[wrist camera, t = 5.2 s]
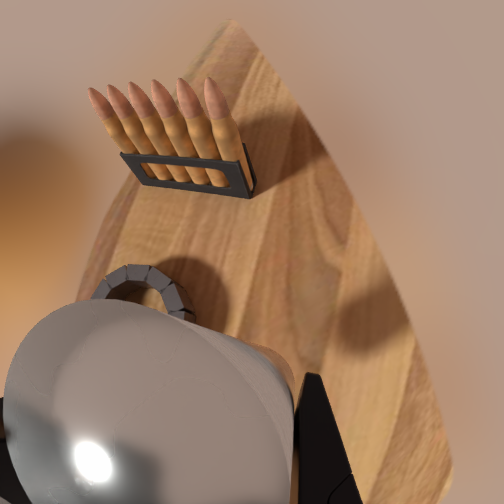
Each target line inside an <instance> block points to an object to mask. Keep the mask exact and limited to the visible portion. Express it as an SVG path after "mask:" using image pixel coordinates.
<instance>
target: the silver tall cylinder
mask: <svg viewBox="0 0 504 504" xmlns="http://www.w3.org/2000/svg"><path fill="white" fill-rule="evenodd" d="M294 407H295V380H294V376H293V372H292V370H291V368H290V366H289V365H288V363H287V362H286V361H285V359H284V358H283V357H282V356H281V355H279V354H278V353H277V352H275V351H274V350H272V349H270V348H267V347H265V346H261V345H258V344H255V343H251V342H248V341H245V340H242V339H238V338H235V337H232V336H229V335H226V334H223V333H220V332H217V331H214V330H211V329H208V328H205V327H202V326H199V325H196V324H193V323H190V322H188V321H185V320H182V319H179V318H177V317H174V316H171V315H168V314H166V313H163V312H160V311H158V310H155V309H152V308H149V307H146V306H143V305H140V304H137V303H133V302H127V301H122V300H116V299H92V300H85V301H79V302H76V303H72V304H69V305H66V306H64V307H62V308H60V309H58V310H56V311H54V312H52V313H50V314H49V315H48V316H46V317H45V318H43V319H42V320H41V321H40V322H39V323H37V324H36V325H35V326H34V327H33V329H31V331H30V332H29V333H28V334H27V335H26V337H25V338H24V340H23V341H22V342H21V344H20V346H19V348H18V349H17V351H16V353H15V355H14V357H13V360H12V362H11V365H10V368H9V371H8V375H7V379H6V384H5V389H4V398H3V421H4V430H5V437H6V442H7V446H8V450H9V454H10V457H11V460H12V463H13V466H14V469H15V471H16V474H17V476H18V478H19V481H20V483H21V485H22V486H23V488H24V490H25V492H26V494H27V496H28V497H29V499H30V501H31V502H32V504H289V499H290V485H291V470H292V452H293V432H294Z"/></svg>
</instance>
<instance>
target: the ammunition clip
mask: <svg viewBox="0 0 504 504" xmlns="http://www.w3.org/2000/svg"><path fill="white" fill-rule="evenodd" d="M151 91H152V96H153V100H154V103H155V106H156V108H157V110H158V112H159V113H158V112H157V110H156V109H155V107H154V106H153V104H152V102H151V101H150V99H149V98H148V96H147V95H146V94H145V93H144V92H143V91H142V89H141V88H139V87H138V86H137V85H136V84H134V83H132V82H129V83H128V92H129V96H130V99H131V102H132V105H133V107H134V108H133V107H132V106H131V104H130V102H129V101H128V100H127V98H126V97H125V96H124V95H123V94H122V93H121V92H120V91H119V90H118V89H117V88H115V87H114V86H112V85H107V94H108V97H109V100H110V103H111V104H110V103H109V102H108V101H107V99H106V98H105V97H104V96H103V95H102V94H101V93H99V92H98V91H97V90H95V89H93V88H89V89H88V94H89V98H90V101H91V103H92V106H93V107H94V109H95V111H96V113H97V114H98V116H99V117H100V119H101V121H102V122H103V124H104V125H105V127H106V130H107V132H108V134H109V135H110V136H111V138H112V139H113V140H114V142H115V143H116V144H117V146H118V147H119V148H120V149H121V151H122V152H121V153H120V156H121V157H122V158H123V160H124V161H125V162H126V164H127V165H128V166H129V168H130V169H131V170H132V172H133V173H134V174H135V175H136V177H137V178H138V179H139V181H140V182H141V183H142V185H147V186H156V187H164V188H173V189H181V190H188V191H196V192H204V193H211V194H218V195H225V196H232V197H239V198H245V199H251V198H252V196H253V193H254V189H255V186H256V182H257V179H256V176H255V173H254V170H253V167H252V164H251V161H250V158H249V155H248V152H247V149H246V146H245V143H242V142H241V138H240V135H239V131H238V128H237V125H236V123H235V121H234V119H233V118H232V116H231V113H230V110H229V108H228V105H227V102H226V100H225V97H224V95H223V93H222V91H221V89H220V88H219V86H218V85H217V84H216V82H215V81H214V80H212V79H211V78H210V77H207V78H206V80H205V86H204V93H205V101H206V105H207V109H208V112H209V116H210V119H211V122H210V120H209V119H208V117H207V116H206V114H205V112H204V110H203V108H202V107H201V104H200V102H199V100H198V98H197V96H196V94H195V92H194V91H193V89H192V88H191V87H190V86H189V84H188V83H187V82H186V81H184V80H183V79H182V78H178V80H177V96H178V100H179V104H180V107H181V110H182V112H183V114H184V117H183V116H182V114H181V112H180V111H179V109H178V107H177V106H176V104H175V102H174V100H173V98H172V97H171V95H170V94H169V92H168V91H167V90H166V89H165V87H164V86H162V84H160V83H159V82H158V81H156V80H152V82H151ZM111 105H112V106H111ZM159 114H160V115H159ZM211 123H212V124H211Z"/></svg>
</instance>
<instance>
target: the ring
mask: <svg viewBox="0 0 504 504" xmlns="http://www.w3.org/2000/svg"><path fill="white" fill-rule="evenodd" d="M105 277H106V280H105V279H102V281H101V282H100V284H99V286H98V287H97V289H96V290H95V292H94V294H93V295H92V297H91V299H116V300H122V301H124V300H125V298H126V297H127V296H128V295H129V294H131V293H133V292H135V291H137V290H139V289H140V288H155V289H156V290H157V291H159V292H160V294H161V296H162V299H163V301H164V304H165V306H166V309H167V311H168V315H171V316H174V317H177V318H179V319H182V320H185V321H188V322H190V323H193V324H195V322H196V316H194V315H192V314H194V313H195V311H194V308H193V306H192V304H191V302H190V299H189V297H188V295H187V292H186V290H184V289H183V287H182V286H180V285H179V284H177V283H176V282H175V281H173V280H172V279H170V278H169V277H168V276H166V275H165V274H163V273H162V272H160V271H159V270H158V269H156V268H155V267H153V266H150V265H133V264H128V266H125V265H124V266H122V267H120V268H119V269H117V270H115V271H114V272H112V273H110V274H108V275H107V276H105Z"/></svg>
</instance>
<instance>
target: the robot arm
mask: <svg viewBox="0 0 504 504" xmlns="http://www.w3.org/2000/svg"><path fill="white" fill-rule="evenodd" d="M3 398H4V397H2V398H0V504H32V502H31V501H30V499H29V497H28V496H27V494H26V492H25V490H24V488H23V486H22V485H21V483H20V481H19V478H18V476H17V474H16V471H15V469H14V466H13V463H12V460H11V457H10V454H9V450H8V446H7V442H6V437H5V430H4V421H3ZM351 473H352V470H351V467H350V464H349V461H348V457H347V454H346V451H345V448H344V445H343V442H342V439H341V436H340V433H339V430H338V427H337V424H336V421H335V418H334V414H333V411H332V408H331V405H330V402H329V399H328V397H327V394H326V391H325V388H324V385H323V382H322V379H321V376H320V375H319V374H315V373H310V372H307V373H306V374H305V376H304V380H303V383H302V386H301V390H300V393H299V398H298V402H297V406H296V410H295V414H294V432H293V452H292V470H291V485H290V499H289V504H363V502H362V500H361V497H360V494H359V491H358V488H357V486H356V482H355V479H354V476H353V474H351Z"/></svg>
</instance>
